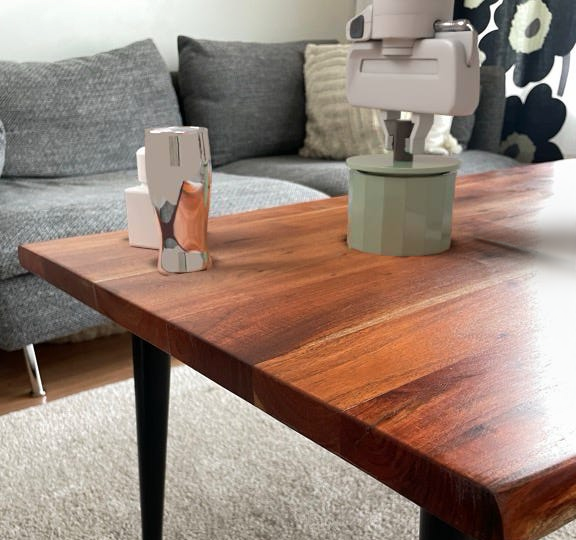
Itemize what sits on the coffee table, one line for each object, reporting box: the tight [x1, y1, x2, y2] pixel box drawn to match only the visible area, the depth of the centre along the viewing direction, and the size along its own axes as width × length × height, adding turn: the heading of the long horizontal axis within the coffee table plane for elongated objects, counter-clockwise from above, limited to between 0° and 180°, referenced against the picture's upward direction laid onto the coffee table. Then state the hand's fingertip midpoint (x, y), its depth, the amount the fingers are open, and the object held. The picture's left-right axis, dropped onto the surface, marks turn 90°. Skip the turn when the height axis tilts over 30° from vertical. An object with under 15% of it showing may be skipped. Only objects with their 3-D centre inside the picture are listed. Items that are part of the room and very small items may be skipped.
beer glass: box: [143, 125, 213, 277], centre depth 78 cm, size 7×7×15 cm
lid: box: [345, 118, 462, 177], centre depth 85 cm, size 14×14×6 cm
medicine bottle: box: [123, 145, 159, 250], centre depth 90 cm, size 7×7×12 cm
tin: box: [346, 168, 458, 257], centre depth 88 cm, size 13×13×10 cm
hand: (403, 152), depth 85 cm, fingers closed on lid, 2 cm apart
